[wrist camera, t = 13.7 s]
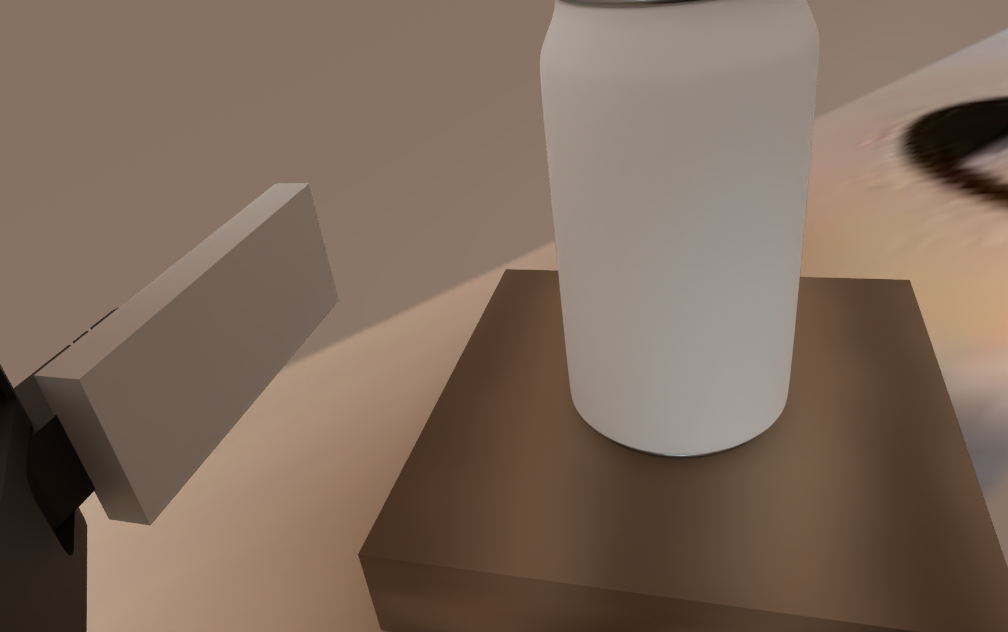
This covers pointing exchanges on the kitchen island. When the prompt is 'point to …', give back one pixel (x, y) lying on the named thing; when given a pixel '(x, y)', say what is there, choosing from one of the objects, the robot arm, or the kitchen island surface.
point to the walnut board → (693, 494)
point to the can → (679, 211)
